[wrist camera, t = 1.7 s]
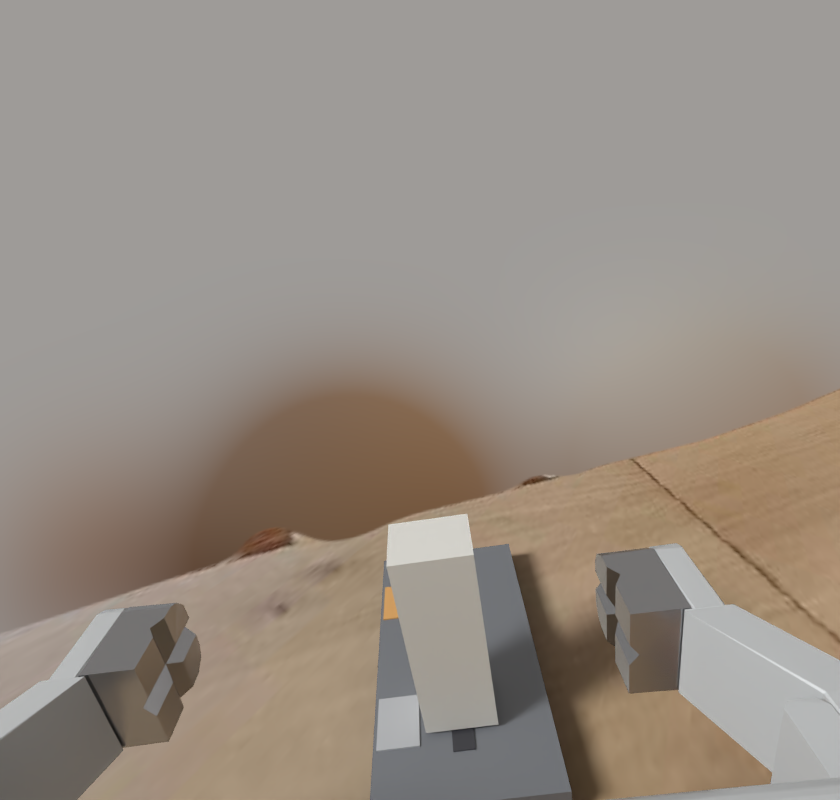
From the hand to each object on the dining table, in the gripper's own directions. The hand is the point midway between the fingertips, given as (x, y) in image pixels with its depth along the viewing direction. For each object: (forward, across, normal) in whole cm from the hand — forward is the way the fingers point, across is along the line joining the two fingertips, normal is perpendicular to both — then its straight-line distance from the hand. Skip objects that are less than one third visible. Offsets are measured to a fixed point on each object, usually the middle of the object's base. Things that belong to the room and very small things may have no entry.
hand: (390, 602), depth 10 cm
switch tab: (+13, 0, +20) cm, 24 cm away
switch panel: (+17, 0, +22) cm, 28 cm away
